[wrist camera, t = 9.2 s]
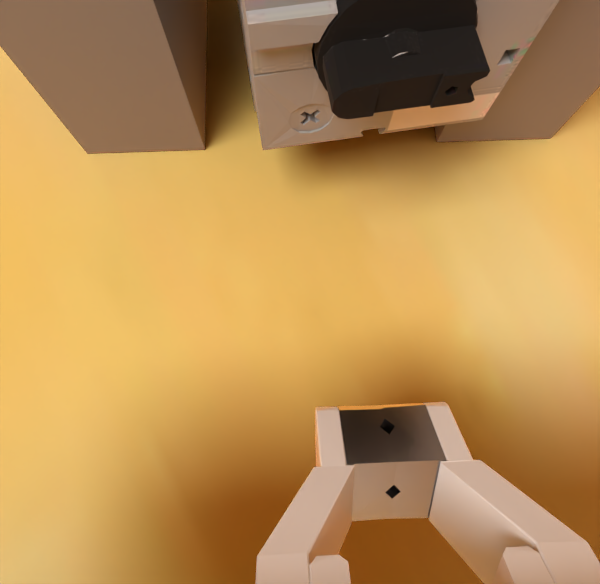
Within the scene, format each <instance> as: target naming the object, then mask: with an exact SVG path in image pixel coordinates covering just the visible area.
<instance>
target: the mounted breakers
mask: <svg viewBox="0 0 600 584" xmlns="http://www.w3.org/2000/svg"><path fill="white" fill-rule="evenodd" d="M0 46H1V47H2V49H3V50H4V51H5V52H6V54H7V55H8V56H9V57H10V59H11V60H12V61H13V62H14V64H15V65H16V66H17V67H18V68H19V70H20V71H21V72H22V73H23V75H24V76H25V77H26V78H27V80H28V81H29V82H30V83H31V85H32V86H33V87H34V88H35V89H36V91H37V92H38V93H39V94H40V96H41V97H42V98H43V99H44V101H45V102H46V103H47V104H48V106H49V107H50V108H51V109H52V110H53V112H54V113H55V114H56V115H57V117H58V118H59V119H60V120H61V122H62V123H63V124H64V125H65V126H66V128H67V129H68V130H69V131H70V133H71V134H72V135H73V136H74V138H75V139H76V140H77V141H78V143H79V144H80V145H81V146H82V147H83V149H84V150H85V151H86V152H87V153H114V152H145V151H176V150H205V119H206V53H207V0H0ZM599 86H600V0H559V2H558V3H557V5H556V6H555V8H554V9H553V11H552V13H551V14H550V16H549V17H548V19H547V20H546V22H545V23H544V25H543V27H542V28H541V30H540V31H539V33H538V34H537V36H536V37H535V39H534V41H533V42H532V44H531V45H530V47H529V48H528V50H527V51H526V53H525V55H524V56H523V58H522V59H521V61H520V62H519V64H518V65H517V67H516V68H515V70H514V72H513V73H512V75H511V76H510V78H509V79H508V81H507V82H506V84H505V86H504V87H503V89H502V90H501V92H500V93H499V95H498V96H497V98H496V100H495V101H494V103H493V104H492V106H491V107H490V109H489V110H488V112H487V113H486V115H485V117H484V118H483V120H477V121H470V122H463V123H456V124H448V125H441V126H435V133H436V140H437V142H454V141H484V140H515V139H546V138H551V137H552V136H553V135H554V134H555V133H556V132H557V131H558V130H559V129H560V128H561V127H562V126H563V125H564V124H565V123H566V121H567V120H568V119H569V118H570V117H571V116H572V115H573V114H574V113H575V112H576V111H577V110H578V109H579V108H580V107H581V105H582V104H583V103H584V102H585V101H586V100H587V99H588V98H589V97H590V96H591V95H592V94H593V93H594V92H595V91H596V89H597V88H598V87H599Z"/></svg>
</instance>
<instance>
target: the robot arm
mask: <svg viewBox="0 0 600 584" xmlns="http://www.w3.org/2000/svg"><path fill="white" fill-rule="evenodd" d="M315 446H316V467H313V469H312V470H311V472H310V474H309V475H308V477H307V478H306V480H305V481H304V483H303V485H302V486H301V488H300V489H299V491H298V492H297V494H296V496H295V497H294V499H293V500H292V502H291V503H290V505H289V507H288V508H287V510H286V511H285V513H284V514H283V516H282V518H281V519H280V521H279V522H278V524H277V525H276V527H275V529H274V530H273V532H272V533H271V535H270V536H269V538H268V540H267V541H266V543H265V544H264V546H263V548H262V549H261V551H260V552H259V554H258V555H257V565H256V583H255V584H351V580H350V572H349V564H348V561H347V560H345V559H344V558H343V557H342V556H340V555H338V554H339V552H340V549H341V547H342V545H343V542H344V540H345V538H346V535H347V533H348V531H349V529H350V526H351V523H352V521H363V520H376V519H389V518H390V519H393V518H429V521H430V522H431V523H432V524H433V526H434V527H435V528H436V529H437V530H438V531H439V533H440V534H441V535H442V536H443V537H444V538H445V539H446V541H447V542H448V543H449V544H450V545H451V546H452V548H453V549H454V550H455V551H456V552H457V553H458V554H459V556H460V557H461V558H462V559H463V560H464V561H465V562H466V564H467V565H468V566H469V567H470V568H471V569H472V571H473V572H474V573H475V574H476V575H477V576H478V577H479V579H480V580H481V581H482V582H483V583H484V584H600V562H599V560H598V559H597V557H596V555H595V554H594V552H593V550H592V549H591V547H590V545H589V544H588V542H587V541H585V540H584V539H583V538H582V537H580V536H579V535H578V534H576V533H575V532H574V531H572V530H571V529H570V528H568V527H567V526H566V525H565V524H563V523H562V522H561V521H559V520H558V519H557V518H555V517H554V516H553V515H552V514H550V513H549V512H548V511H546V510H545V509H544V508H542V507H541V506H540V505H539V504H537V503H536V502H535V501H533V500H532V499H531V498H529V497H528V496H527V495H526V494H524V493H523V492H522V491H520V490H519V489H518V488H516V487H515V486H514V485H512V484H511V483H510V482H509V481H507V480H506V479H505V478H503V477H502V476H501V475H499V474H498V473H497V472H496V471H494V470H493V469H492V468H490V467H489V466H488V465H486V464H485V463H484V462H483V461H481V460H473V458H472V456H471V453H470V451H469V449H468V447H467V445H466V442H465V440H464V438H463V436H462V434H461V432H460V429H459V427H458V425H457V423H456V421H455V418H454V416H453V414H452V412H451V410H450V408H449V405H448V404H447V403H446V402H430V403H423V404H422V403H411V404H391V405H372V406H338V408H337V407H316V409H315Z"/></svg>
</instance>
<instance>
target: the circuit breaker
mask: <svg viewBox="0 0 600 584" xmlns="http://www.w3.org/2000/svg"><path fill="white" fill-rule="evenodd" d="M558 2H559V0H237V4H238V10H239V17H240V23H241V29H242V35H243V41H244V48H245V54H246V60H247V66H248V72H249V79H250V85H251V91H252V97H253V103H254V109H255V112H256V111H257V117H258V123H259V129H260V135H261V141H262V147H263V150H268V149H275V148H283V147H290V146H297V145H304V144H312V143H319V142H326V141H333V140H341V139H348V138H355V137H362V136H363V133H362V130H369V129H377V128H378V132H379V134H384V133H391V132H398V131H405V130H413V129H420V128H427V127H434V126H441V125H448V124H456V123H463V122H470V121H477V120H483V118H484V117H485V115H486V113H487V112H488V110H489V109H490V107H491V106H492V104H493V103H494V101H495V100H496V98H497V96H498V95H499V93H500V92H501V90H502V89H503V87H504V86H505V84H506V82H507V81H508V79H509V78H510V76H511V75H512V73H513V72H514V70H515V68H516V67H517V65H518V64H519V62H520V61H521V59H522V58H523V56H524V55H525V53H526V51H527V50H528V48H529V47H530V45H531V44H532V42H533V41H534V39H535V37H536V36H537V34H538V33H539V31H540V30H541V28H542V27H543V25H544V23H545V22H546V20H547V19H548V17H549V16H550V14H551V13H552V11H553V9H554V8H555V6H556V5H557V3H558Z"/></svg>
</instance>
